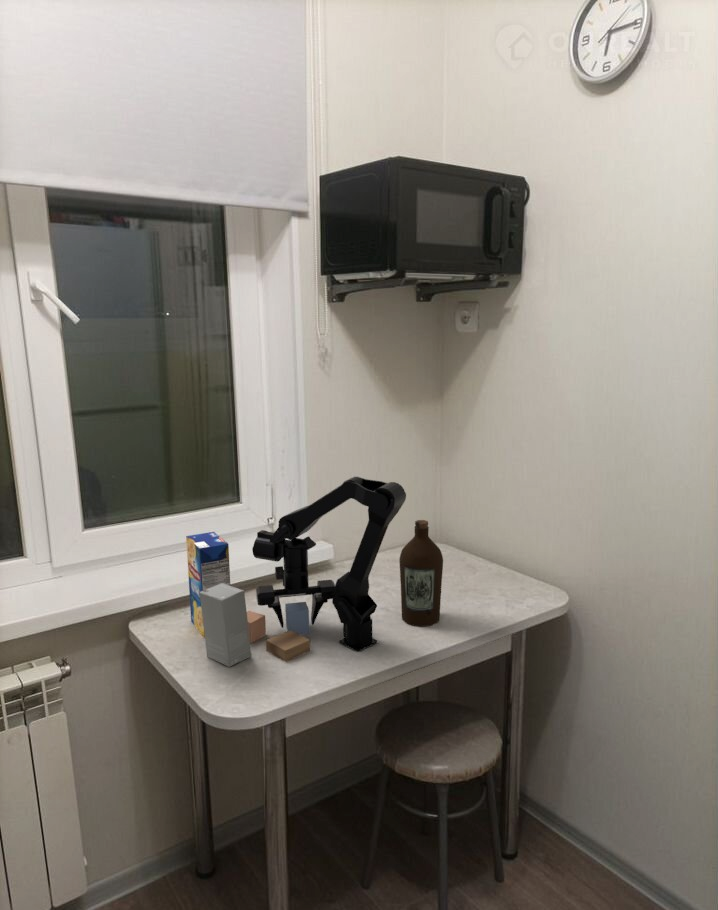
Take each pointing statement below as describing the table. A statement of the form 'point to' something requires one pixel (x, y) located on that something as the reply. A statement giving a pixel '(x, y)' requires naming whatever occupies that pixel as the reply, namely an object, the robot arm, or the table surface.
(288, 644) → the walnut slab
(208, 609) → the skincare box
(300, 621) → the slate block
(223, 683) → the table surface
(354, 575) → the robot arm
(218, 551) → the beverage box
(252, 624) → the terracotta block
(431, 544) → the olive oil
